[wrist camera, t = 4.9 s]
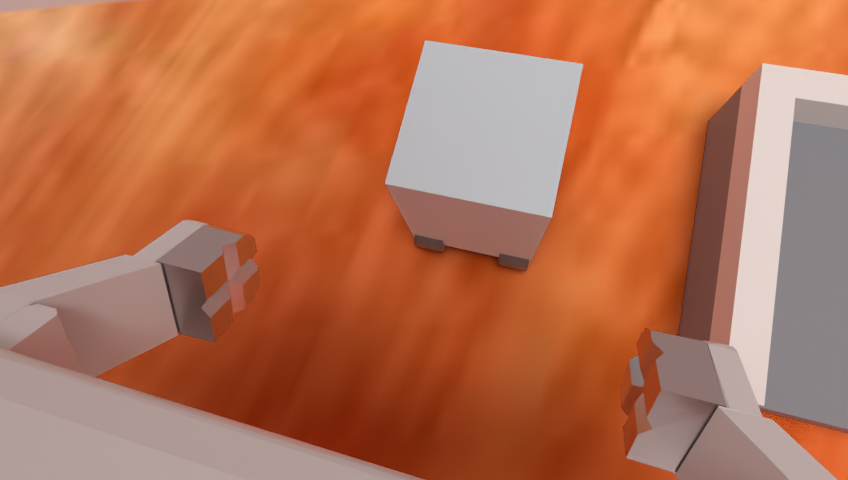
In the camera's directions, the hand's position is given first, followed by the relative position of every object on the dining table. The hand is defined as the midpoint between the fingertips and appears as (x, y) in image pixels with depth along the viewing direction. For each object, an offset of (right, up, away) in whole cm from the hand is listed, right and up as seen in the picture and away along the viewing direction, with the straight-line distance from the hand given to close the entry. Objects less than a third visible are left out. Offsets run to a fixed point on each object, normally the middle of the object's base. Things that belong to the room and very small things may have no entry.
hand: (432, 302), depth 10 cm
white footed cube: (+3, +3, +12) cm, 13 cm away
